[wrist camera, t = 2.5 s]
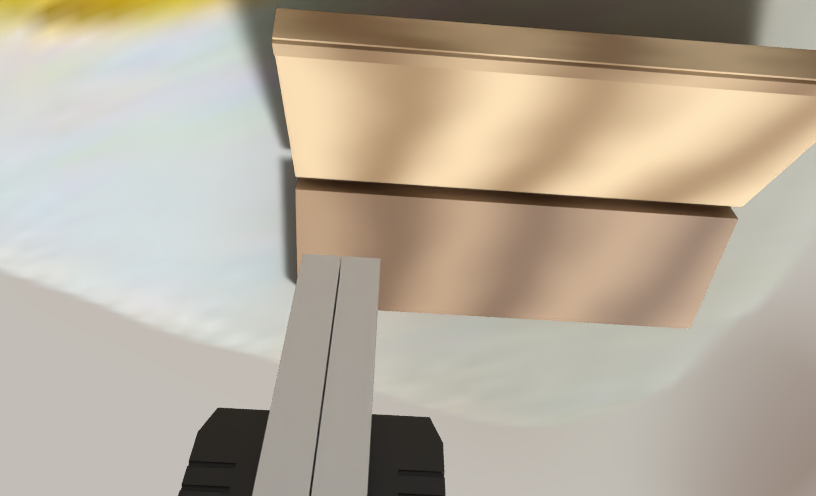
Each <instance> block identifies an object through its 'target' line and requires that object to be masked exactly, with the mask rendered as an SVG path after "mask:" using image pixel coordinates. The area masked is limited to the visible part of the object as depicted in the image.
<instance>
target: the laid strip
mask: <svg viewBox="0 0 816 496" xmlns="http://www.w3.org/2000/svg"><path fill="white" fill-rule="evenodd" d="M295 193H296V237H297V279H298V274H299V269H300V264H301V259H302V255H303V254H316V255H332V256H341V264H342V257H343V256H348V257H364V258H379V259H381V260H380V278H379V295H378V310H383V311H400V312H417V313H434V314H451V315H468V316H485V317H502V318H519V319H536V320H553V321H570V322H587V323H604V324H620V325H637V326H654V327H671V328H688V329H690V328H691V325H692V323H693V321H694V318H695V316H696V314H697V312H698V309H699V307H700V305H701V302H702V300H703V298H704V296H705V293H706V291H707V289H708V287H709V284H710V282H711V280H712V277H713V275H714V273H715V271H716V268H717V266H718V264H719V262H720V259H721V257H722V255H723V252H724V250H725V248H726V246H727V243H728V241H729V239H730V236H731V234H732V232H733V230H734V227H735V225H736V223H737V221H738V218H737V216H736V215H735V214H734V212H733V211H732V209H731V206H720V205H706V204H691V203H676V202H661V201H646V200H632V199H617V198H602V197H587V196H572V195H558V194H543V193H528V192H513V191H498V190H483V189H469V188H454V187H439V186H424V185H409V184H395V183H380V182H365V181H350V180H335V179H321V178H306V177H298V181H297V185H296V189H295Z"/></svg>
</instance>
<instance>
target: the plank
mask: <svg viewBox="0 0 816 496" xmlns="http://www.w3.org/2000/svg"><path fill="white" fill-rule="evenodd" d="M272 47H273V53H274V56H275V58H276V64H277V70H278V76H279V82H280V88H281V94H282V100H283V105H284V111H285V117H286V123H287V129H288V135H289V141H290V147H291V153H292V159H293V165H294V171H295V177H306V178H321V179H335V180H350V181H365V182H380V183H395V184H409V185H424V186H439V187H454V188H469V189H483V190H498V191H513V192H528V193H543V194H558V195H572V196H587V197H602V198H617V199H632V200H646V201H661V202H676V203H691V204H706V205H720V206H735V207H742V206H743V205H745V204H746V203H747V202H748V201H749V200H750V199H751V198H753V197H754V196H755V195H756V194H757V193H758V192H759V191H761V190H762V189H763V188H764V187H765V186H766V185H767V184H768V183H770V182H771V181H772V180H773V179H774V178H775V177H776V176H778V175H779V174H780V173H781V172H782V171H783V170H784V169H785V168H787V167H788V166H789V165H790V164H791V163H792V162H793V161H795V160H796V159H797V158H798V157H799V156H800V155H801V154H803V153H804V152H805V151H806V150H807V149H808V148H809V147H810V146H812V145H813V144H814V143H815V142H816V50H805V49H793V48H780V47H767V46H755V45H742V44H729V43H716V42H704V41H691V40H678V39H666V38H653V37H640V36H627V35H615V34H602V33H589V32H576V31H564V30H551V29H538V28H526V27H513V26H500V25H487V24H475V23H462V22H449V21H437V20H424V19H411V18H398V17H386V16H373V15H360V14H348V13H335V12H322V11H309V10H297V9H284V8H276V14H275V21H274V27H273V34H272Z"/></svg>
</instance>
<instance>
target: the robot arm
mask: <svg viewBox="0 0 816 496" xmlns="http://www.w3.org/2000/svg"><path fill="white" fill-rule="evenodd" d="M380 260H381V259H379V258H364V257H348V256H343V257H342V264H341V256H332V255H316V254H303V255H302V259H301V264H300V269H299V274H298V279H297V283H296V288H295V293H294V298H293V302H292V307H291V312H290V317H289V322H288V326H287V331H286V336H285V341H284V345H283V350H282V355H281V360H280V365H279V369H278V375H277V379H276V384H275V389H274V394H273V398H272V403H271V408H270V410H252V409H251V410H250V409H233V408H217V409H216V411H215V412H214V413H213V414H212V416H211V417H210V418H209V419H208V420H207V421H206V423H205V424H204V425H203V426H202V428H201V429H200V430H199V431H198V433H197V436H196V439H195V443H194V446H193V449H192V453H191V456H190V459H189V465H188V466H187V469H186V472H185V475H184V479H183V482H182V488H181V490H180V492H179V495H178V496H445V478H444V456H443V442H442V440H441V438H440V436H439V434H438V433H437V431H436V429H435V427H434V425H433V423H432V421H431V419H430V418H429V417H413V416H394V415H376V414H372V401H373V383H374V366H375V348H376V330H377V313H378V295H379V278H380Z"/></svg>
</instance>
